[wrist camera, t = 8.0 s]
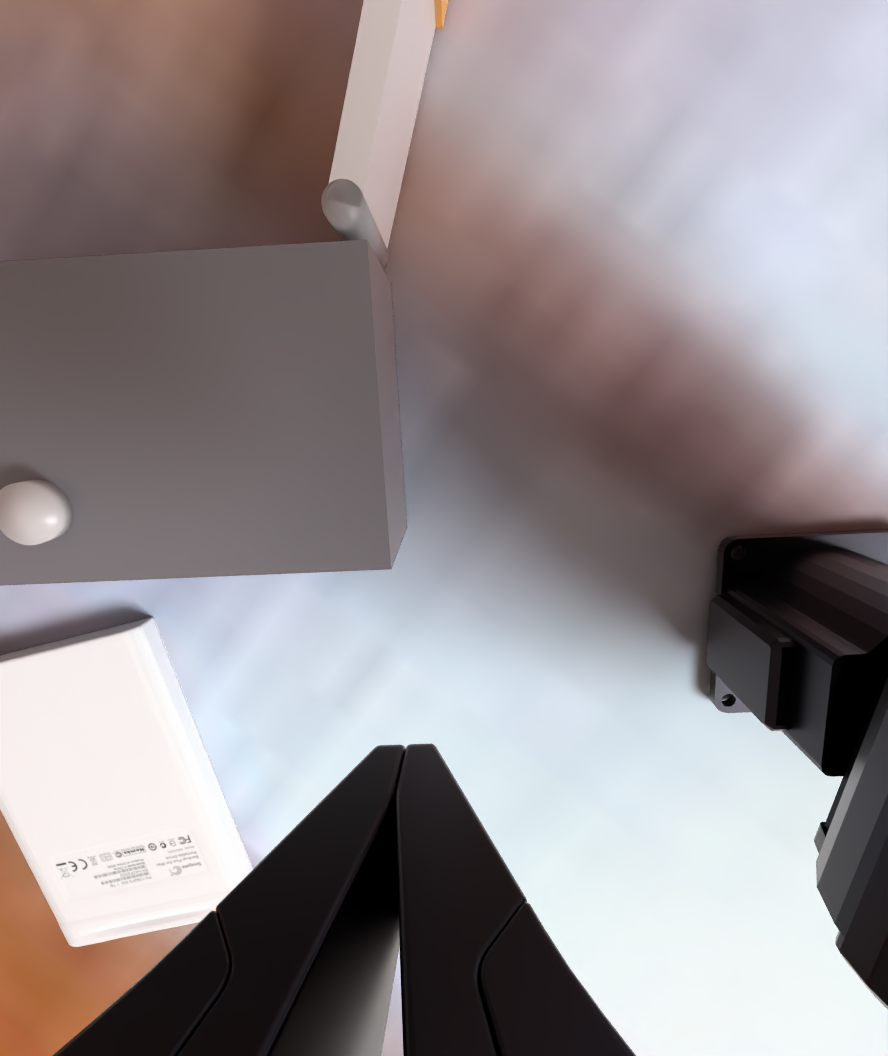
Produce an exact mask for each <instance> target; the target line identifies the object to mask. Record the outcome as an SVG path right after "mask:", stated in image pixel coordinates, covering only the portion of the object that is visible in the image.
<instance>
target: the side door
mask: <svg viewBox="0 0 888 1056" xmlns="http://www.w3.org/2000/svg"><path fill="white" fill-rule="evenodd" d="M448 2H449V0H364V1H363V7H362V12H361V17H360V22H359V27H358V33H357V38H356V43H355V48H354V54H353V59H352V64H351V69H350V74H349V80H348V85H347V90H346V95H345V101H344V106H343V111H342V116H341V121H340V127H339V132H338V137H337V142H336V148H335V153H334V158H333V163H332V168H331V174H330V179H329V184H328V185H327V186H326V188H325V189H324V191H323V194H322V197H321V207H322V210H323V213H324V215H325V216H326V218H327V219H328V221H329V222H330V224H331V225H332V227H333V228H334V229H335V231H336V232H337V234H338V235H339V237H340V238H341V239H342V241H350V240H368V242H369V244H370V246H371V247H372V249H373V251H374V253H375V255H376V257H377V259H378V260H379V262H380V264H381V266H382V268H383V269H384V268H385V267H386V265H387V263H388V259H389V253H388V250H387V249H388V244H389V240H390V235H391V230H392V226H393V221H394V217H395V212H396V207H397V203H398V198H399V194H400V189H401V185H402V180H403V175H404V171H405V166H406V162H407V157H408V152H409V148H410V143H411V139H412V134H413V129H414V125H415V120H416V116H417V111H418V106H419V102H420V97H421V93H422V88H423V84H424V79H425V74H426V70H427V65H428V61H429V56H430V51H431V47H432V42H433V38H434V33H435V28H436V27H437V28H440V29H443V24H444V20H445V15H446V11H447V6H448Z"/></svg>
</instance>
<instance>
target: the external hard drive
mask: <svg viewBox="0 0 888 1056" xmlns="http://www.w3.org/2000/svg"><path fill="white" fill-rule="evenodd" d="M0 809H1V812H2V813H3V815H4V817H5V819H6V821H7V823H8V825H9V827H10V829H11V831H12V833H13V835H14V837H15V839H16V841H17V843H18V845H19V847H20V849H21V851H22V853H23V855H24V857H25V858H26V860H27V862H28V864H29V866H30V868H31V870H32V872H33V874H34V876H35V878H36V880H37V882H38V884H39V886H40V888H41V890H42V892H43V894H44V896H45V898H46V899H47V901H48V903H49V905H50V907H51V909H52V911H53V913H54V915H55V917H56V919H57V921H58V923H59V925H60V928H61V930H62V931H63V933H64V935H65V937H66V939H67V941H68V943H69V945H71V946H74V947H80V946H84V945H89V944H94V943H99V942H104V941H108V940H113V939H117V938H122V937H127V936H132V935H137V934H141V933H146V932H151V931H156V930H162V929H166V928H172V927H177V926H182V925H187V924H191V923H196V922H200V921H201V920H202V919H203V918H204V917H205V916H206V915H207V914H208V913H209V912H211V911H216V906H217V905H218V904H219V903H220V902H221V901H222V900H223V899H224V898H225V897H226V896H227V895H228V894H229V893H230V892H231V891H232V890H233V889H234V888H235V887H236V886H237V885H238V884H239V883H240V882H241V881H242V880H243V879H244V878H245V877H246V876H247V875H248V874H249V873H250V872H251V871H252V870H253V866H252V864H251V861H250V859H249V856H248V854H247V851H246V849H245V846H244V844H243V841H242V839H241V836H240V834H239V831H238V828H237V826H236V823H235V821H234V819H233V816H232V814H231V811H230V809H229V806H228V803H227V801H226V798H225V796H224V793H223V791H222V788H221V786H220V783H219V781H218V778H217V775H216V773H215V771H214V768H213V766H212V763H211V760H210V758H209V755H208V753H207V750H206V748H205V745H204V743H203V740H202V738H201V735H200V733H199V730H198V728H197V725H196V723H195V720H194V718H193V715H192V712H191V710H190V707H189V705H188V702H187V699H186V697H185V695H184V692H183V689H182V687H181V684H180V682H179V680H178V677H177V675H176V672H175V670H174V667H173V664H172V662H171V659H170V657H169V654H168V652H167V649H166V647H165V644H164V642H163V639H162V637H161V634H160V632H159V629H158V627H157V624H156V621H155V619H154V618H153V617H150V618H146V619H142V620H138V621H134V622H130V623H126V624H122V625H118V626H114V627H111V628H107V629H103V630H99V631H95V632H91V633H87V634H83V635H79V636H75V637H71V638H67V639H63V640H59V641H55V642H51V643H47V644H43V645H39V646H35V647H31V648H27V649H23V650H19V651H15V652H11V653H7V654H3V655H0Z"/></svg>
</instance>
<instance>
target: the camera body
mask: <svg viewBox="0 0 888 1056" xmlns="http://www.w3.org/2000/svg"><path fill="white" fill-rule="evenodd" d="M406 529H407V519H406V504H405V488H404V473H403V457H402V442H401V427H400V411H399V396H398V381H397V365H396V350H395V335H394V319H393V304H392V289H391V282H390V281H389V279H388V277H387V275H386V273H385V271H384V270H383V268H382V266H381V264H380V262H379V260H378V259H377V257H376V255H375V253H374V251H373V249H372V247H371V246H370V244H369V242H368V240H350V241H333V242H316V243H299V244H283V245H266V246H249V247H232V248H215V249H199V250H182V251H165V252H148V253H131V254H114V255H98V256H81V257H64V258H47V259H30V260H14V261H0V585H23V584H47V583H71V582H95V581H119V580H143V579H167V578H191V577H215V576H239V575H263V574H287V573H311V572H335V571H359V570H383V569H391V568H392V566H393V563H394V560H395V558H396V555H397V553H398V550H399V547H400V545H401V542H402V540H403V537H404V534H405V532H406Z"/></svg>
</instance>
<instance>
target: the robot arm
mask: <svg viewBox="0 0 888 1056" xmlns="http://www.w3.org/2000/svg"><path fill="white" fill-rule="evenodd" d="M736 546H740V553H739V554H738V555H737V556H735V557H732V556H731V551H732V549H733V548H734V547H736ZM706 664H707V666H708V667H709V668H710V669H711V681H710V700H711V701H712V703H713V704H714V705H715V706H716V708H717V709H718V710H720V711H722V712H726V713H738V712H752V713H753V714H754V715H755V716H756V717H757V718H758V719H759V720H760V721H761V722H762V723H763V724H764V725H765V726H766V727H767V728H768V729H769V730H771V731H782V732H783V733H784V734H785V735H786V736H787V737H788V738H789V739H790V740H791V741H792V742H793V743H794V744H795V745H796V746H797V747H798V748H799V749H800V750H801V751H802V752H803V753H804V754H805V755H806V756H807V757H808V758H809V759H810V760H811V761H812V762H813V763H814V764H815V765H816V766H817V767H818V768H819V769H820V770H821V771H822V772H823V773H824V774H825V775H827V776H843V779H842V782H841V784H840V787H839V789H838V792H837V794H836V797H835V800H834V802H833V805H832V807H831V810H830V813H829V815H828V818H827V820H826V822H821V823H820V826H819V828H818V831H817V833H816V836H815V839H814V842H815V845H816V847H817V850H818V852H819V856H818V858H817V861H816V868H817V888H818V890H819V892H820V894H821V896H822V898H823V900H824V903H825V905H826V907H827V909H828V911H829V913H830V915H831V917H832V919H833V921H834V923H835V925H836V926H837V928H838V929H839V932H838V935H837V937H836V946H837V948H838V950H839V951H840V953H841V954H842V956H843V957H844V959H845V960H846V962H847V963H848V964H849V965H850V967H851V968H852V969H853V970H854V972H855V973H856V974H857V975H858V977H859V978H860V979H861V980H862V981H863V983H864V984H865V985H866V986H867V988H868V989H869V990H870V991H871V993H872V994H873V995H874V996H875V997H876V998H877V999H878V1000H879V1001H880V1002H881V1003H882V1004H883V1005H884V1006H885V1007H886V1008H887V1009H888V529H886V530H862V531H839V532H815V533H792V534H768V535H745V536H732V537H728V538H726V539H725V540H723V541H722V543H721V544H720V546H719V550H718V564H717V580H716V594H715V595H714V596H713V598H712V599H711V600H710V603H709V621H708V638H707V656H706ZM726 694H731V695H730V698H729V699H727V700H725V701H721V700H722V697H723V696H724V695H726ZM399 946H400V967H401V996H402V1024H403V1052H404V1056H636V1055H635V1054H634V1052H633V1051H632V1050H631V1049H630V1047H629V1046H628V1045H627V1044H626V1042H625V1041H624V1040H623V1038H622V1037H621V1036H620V1035H619V1033H618V1032H617V1031H616V1029H615V1028H614V1027H613V1026H612V1024H611V1023H610V1022H609V1020H608V1019H607V1018H606V1017H605V1015H604V1014H603V1013H602V1011H601V1010H600V1008H599V1007H598V1006H597V1004H596V1003H595V1002H594V1000H593V999H592V998H591V996H590V995H589V994H588V992H587V991H586V990H585V988H584V987H583V985H582V984H581V983H580V981H579V980H578V979H577V977H576V976H575V975H574V973H573V972H572V971H571V969H570V968H569V966H568V965H567V963H566V961H565V960H564V958H563V957H562V955H561V954H560V952H559V951H558V949H557V947H556V946H555V944H554V943H553V941H552V940H551V938H550V937H549V935H548V933H547V932H546V930H545V929H544V927H543V925H542V924H541V922H540V920H539V919H538V917H537V915H536V914H535V912H534V910H533V909H532V907H531V905H530V904H529V903H527V899H526V897H525V896H524V894H523V892H522V891H521V889H520V887H519V886H518V884H517V882H516V881H515V879H514V877H513V876H512V874H511V872H510V871H509V869H508V867H507V865H506V864H505V862H504V860H503V859H502V857H501V855H500V854H499V852H498V850H497V849H496V847H495V845H494V844H493V842H492V840H491V839H490V837H489V835H488V834H487V832H486V830H485V829H484V827H483V825H482V823H481V822H480V820H479V818H478V817H477V815H476V813H475V812H474V810H473V808H472V807H471V805H470V803H469V802H468V800H467V798H466V797H465V795H464V793H463V792H462V790H461V788H460V786H459V785H458V783H457V781H456V780H455V778H454V776H453V775H452V773H451V771H450V770H449V768H448V766H447V765H446V763H445V761H444V760H443V758H442V756H441V755H440V753H439V751H438V750H437V748H436V746H435V745H433V744H411V745H408V746H407V747H406V749H405V747H404V746H403V745H380V746H377V747H375V748H374V749H373V750H372V751H371V752H370V753H369V754H368V755H367V756H366V757H365V758H364V759H363V760H362V761H361V762H360V763H359V764H358V765H357V766H356V767H355V768H354V769H353V770H352V771H351V772H350V773H349V774H348V775H347V776H346V777H345V778H344V779H343V780H342V781H341V782H340V783H339V784H338V785H337V786H336V787H335V788H334V789H333V790H332V791H331V792H330V793H329V794H328V795H327V796H326V797H325V798H324V799H323V800H322V801H321V802H320V803H319V804H318V805H317V806H316V807H315V808H314V809H313V810H312V811H311V812H310V813H309V814H308V815H307V816H306V817H305V818H304V819H303V820H302V821H301V822H300V823H299V824H298V825H297V826H296V827H295V828H294V829H293V830H292V831H291V832H290V833H289V834H288V835H287V836H286V837H285V838H284V839H283V840H282V841H281V842H280V843H279V844H278V845H277V846H276V847H275V848H274V849H273V850H272V851H271V852H270V853H269V854H268V855H267V856H266V857H265V858H264V859H263V860H262V861H261V862H260V863H259V864H258V865H257V866H256V867H255V868H254V869H253V870H252V871H251V872H250V873H249V874H248V875H247V876H246V877H245V878H244V879H243V880H242V881H241V882H240V883H239V884H238V885H237V886H236V887H235V888H234V889H233V890H232V891H231V892H230V893H229V894H228V895H227V896H226V897H225V898H224V899H223V900H222V901H221V902H220V903H219V904H218V905H217V906H216V911H211V912H209V913H208V914H207V915H206V916H205V917H204V918H203V919H202V920H201V921H200V922H199V923H198V924H197V925H196V926H195V927H194V928H193V929H192V930H191V931H190V932H189V933H188V934H187V935H186V936H185V937H184V938H183V939H182V940H181V941H180V942H179V943H178V944H177V945H176V946H175V947H174V948H173V949H172V950H171V951H170V952H168V953H167V954H166V955H165V956H164V957H163V958H162V959H161V960H160V961H159V962H158V963H157V964H156V965H155V966H154V967H153V968H152V969H151V970H150V971H149V972H148V973H146V974H145V975H144V976H143V977H142V978H141V979H140V980H139V981H138V982H136V983H135V984H134V985H133V986H132V987H131V988H130V989H129V990H127V991H126V992H125V993H124V994H123V995H122V996H121V997H120V998H118V999H117V1000H116V1001H115V1002H114V1003H113V1004H112V1005H110V1006H109V1007H108V1008H107V1009H106V1010H105V1011H104V1012H103V1013H101V1014H100V1015H99V1016H98V1017H97V1018H96V1019H95V1020H93V1021H92V1022H91V1023H90V1024H89V1025H88V1026H87V1027H85V1028H84V1029H83V1030H82V1031H81V1032H80V1033H78V1034H77V1035H76V1036H75V1037H74V1038H73V1039H71V1040H70V1041H69V1042H68V1043H67V1044H66V1045H64V1046H63V1047H62V1048H61V1049H60V1050H58V1051H57V1052H56V1053H55V1054H54V1055H53V1056H381V1053H382V1047H383V1041H384V1035H385V1029H386V1023H387V1017H388V1011H389V1005H390V999H391V993H392V987H393V981H394V975H395V969H396V963H397V958H398V952H399Z"/></svg>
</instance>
